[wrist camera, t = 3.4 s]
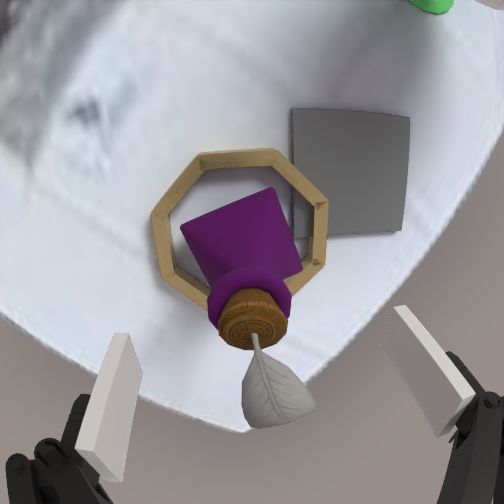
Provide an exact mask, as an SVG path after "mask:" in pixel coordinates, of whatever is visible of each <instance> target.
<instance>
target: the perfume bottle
mask: <svg viewBox="0 0 504 504" xmlns="http://www.w3.org/2000/svg"><path fill="white" fill-rule="evenodd" d="M180 230H181V232H182V234H183V236H184V237H185V239H186V241H187V243H188V245H189V247H190V249H191V251H192V253H193V255H194V257H195V258H196V260H197V262H198V264H199V266H200V268H201V270H202V272H203V273H204V275H205V277H206V279H207V281H208V283H209V284H210V286H211V288H212V290H211V292H210V294H209V296H208V298H207V308H208V318H209V320H210V322H211V323H212V324H213V325H214V326H215V327H216V329H217V330H218V331H219V336H220V337H221V338H222V339H223V340H224V341H225V342H226V343H227V344H228V345H230V346H233V347H236V348H240V349H243V350H254V356H253V358H252V361H251V363H250V365H249V367H248V370H247V372H246V374H245V377H244V379H243V381H242V408H243V413H244V417H245V419H246V420H247V422H248V424H249V425H250V427H253V428H257V429H261V428H267V427H272V426H278V425H283V424H287V423H290V422H292V421H294V420H296V419H298V418H301V417H302V416H305V415H307V414H309V413H311V412H313V411H314V410H315V407H316V404H315V402H314V400H313V398H312V395H311V394H310V392H309V391H308V389H307V388H306V386H305V385H304V383H303V382H302V381H301V380H300V379H299V378H298V377H297V376H296V375H295V374H294V373H293V371H292V370H291V369H290V368H289V367H288V366H286V365H285V364H283V363H281V362H279V361H277V360H276V359H274V358H272V357H270V356H269V355H267V354H265V353H264V352H262V350H261V349H264V348H267V347H269V346H272V345H274V344H277V343H278V342H279V340H280V339H281V338H282V337H283V336H284V335H285V334H286V332H287V325H288V320H287V319H288V318H289V316H290V309H291V298H292V294H291V292H290V291H289V289H288V287H287V286H286V284H285V282H284V281H283V280H284V279H286V278H288V277H291V276H293V275H295V274H297V273H300V272H301V271H302V270H303V266H302V263H301V260H300V257H299V255H298V252H297V249H296V246H295V243H294V241H293V238H292V235H291V232H290V230H289V227H288V224H287V222H286V219H285V216H284V213H283V211H282V208H281V205H280V203H279V200H278V197H277V195H276V192H275V190H274V189H273V188H267V189H265V190H262V191H260V192H257V193H255V194H252V195H250V196H247V197H245V198H242V199H240V200H238V201H235V202H233V203H230V204H228V205H226V206H223V207H221V208H218V209H216V210H214V211H211V212H209V213H207V214H204V215H202V216H200V217H197V218H195V219H193V220H191V221H188V222H186V223H184V224H182V225H181V226H180Z"/></svg>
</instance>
